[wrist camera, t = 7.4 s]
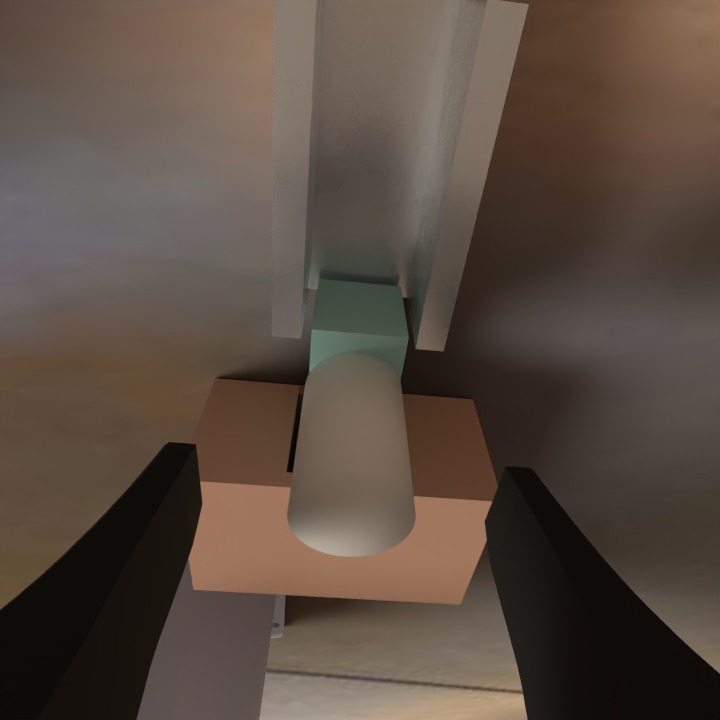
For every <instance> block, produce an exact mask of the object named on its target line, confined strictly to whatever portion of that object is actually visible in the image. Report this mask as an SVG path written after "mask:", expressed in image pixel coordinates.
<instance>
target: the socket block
mask: <svg viewBox="0 0 720 720" xmlns="http://www.w3.org/2000/svg"><path fill="white" fill-rule="evenodd" d="M304 389H305V386H303V385H291V384H278V383H266V382H254V381H242V380H230V379H217V378H215V381H214V383H213V386H212V388H211V391H210V394H209V396H208V399H207V402H206V404H205V407H204V409H203V412H202V415H201V417H200V420H199V423H198V425H197V428H196V431H195V433H194V436H193V438H192V441H191V444H196V448H197V457H198V466H199V475H200V484H201V494H202V503H203V504H202V508H201V513H200V517H199V522H198V526H197V530H196V534H195V538H194V542H193V546H192V549H191V552H190V555H189V564H190V570H191V577H192V584H193V590H205V591H223V592H241V593H259V594H277V595H296V596H314V597H332V598H350V599H368V600H386V601H404V602H422V603H440V604H458V605H460V604H461V602H462V599H463V597H464V594H465V592H466V589H467V587H468V585H469V582H470V580H471V577H472V575H473V573H474V570H475V568H476V565H477V563H478V561H479V558H480V556H481V553H482V551H483V548H484V546H485V544H486V541H487V537H486V529H485V522H484V521H485V519H486V516H487V514H488V511H489V509H490V506H491V504H492V501H493V498H494V496H495V493H496V491H497V488H498V484H497V481H496V478H495V474H494V471H493V467H492V464H491V460H490V457H489V453H488V450H487V446H486V443H485V439H484V436H483V433H482V429H481V426H480V422H479V419H478V415H477V412H476V408H475V405H474V401H473V399H462V398H449V397H437V396H425V395H413V394H402V396H403V405H404V414H405V423H406V432H407V441H408V450H409V459H410V468H411V477H412V485H413V494H414V503H415V512H416V519H415V524H414V527H413V529H412V531H411V532H410V534H409V535H408V536H407V537H406V538H405V539H404V540H403V541H402V542H401V543H399V544H398V545H396V546H394V547H392V548H391V549H388V550H386V551H384V552H380V553H377V554H373V555H368V556H359V557H344V556H336V555H330V554H327V553H323V552H320V551H317V550H315V549H313V548H311V547H309V546H307V545H306V544H304V543H303V542H302V541H300V540H299V539H298V538H297V537H296V536H295V535H294V533H293V532H292V531H291V529H290V527H289V524H288V520H287V512H288V504H289V497H290V490H291V483H292V476H293V468H294V461H295V454H296V447H297V440H298V432H299V425H300V418H301V411H302V404H303V396H304Z"/></svg>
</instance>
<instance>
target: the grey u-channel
mask: <svg viewBox="0 0 720 720" xmlns="http://www.w3.org/2000/svg"><path fill="white" fill-rule="evenodd" d="M528 6H529V4H524V3H517V2H509V1H502V0H274V29H273V178H272V327H271V336H274V337H285V338H297V339H301V334H302V328H303V322H304V316H305V311H306V305H307V299H308V293H309V288H310V289H318V282H319V279H327V280H338V281H348V282H359V283H369V284H380V285H390V286H400V287H401V290H402V296H403V297H405V298H407V301H408V307H409V313H410V319H411V325H412V331H413V337H414V343H415V349H422V350H433V351H444V348H445V344H446V340H447V336H448V331H449V327H450V323H451V319H452V315H453V311H454V307H455V303H456V299H457V295H458V291H459V287H460V283H461V279H462V275H463V270H464V266H465V262H466V258H467V254H468V250H469V246H470V242H471V238H472V234H473V230H474V226H475V222H476V218H477V213H478V209H479V205H480V201H481V197H482V193H483V189H484V185H485V181H486V177H487V173H488V169H489V165H490V161H491V156H492V152H493V148H494V144H495V140H496V136H497V132H498V128H499V124H500V120H501V116H502V112H503V108H504V104H505V99H506V95H507V91H508V87H509V83H510V79H511V75H512V71H513V67H514V63H515V59H516V55H517V51H518V47H519V43H520V38H521V34H522V30H523V26H524V22H525V18H526V14H527V10H528Z"/></svg>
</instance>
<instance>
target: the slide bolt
mask: <svg viewBox="0 0 720 720" xmlns="http://www.w3.org/2000/svg"><path fill="white" fill-rule="evenodd" d="M408 339H409V336H408V330H407V323H406V316H405V310H404V303H403V296H402V290H401V287H400V286H390V285H380V284H369V283H359V282H348V281H338V280H327V279H319V282H318V289H317V296H316V303H315V310H314V317H313V324H312V333H311V350H310V366H309V375H308V377H307V379H306V383H305V389H304V396H303V404H302V411H301V418H300V425H299V432H298V440H297V447H296V454H295V461H294V468H293V476H292V483H291V490H290V497H289V504H288V512H287V520H288V524H289V527H290V529H291V531H292V532H293V533H294V535H295V536H296V537H297V538H298V539H299V540H300V541H302V542H303V543H304V544H306V545H307V546H309V547H311V548H313V549H315V550H317V551H320V552H323V553H327V554H330V555H336V556H344V557H359V556H368V555H373V554H377V553H380V552H384V551H386V550H388V549H391V548H392V547H394V546H396V545H398V544H399V543H401V542H402V541H403V540H404V539H405V538H406V537H407V536H408V535H409V534H410V532H411V531H412V529H413V527H414V524H415V519H416V512H415V503H414V494H413V485H412V477H411V468H410V459H409V450H408V441H407V432H406V423H405V414H404V405H403V396H402V388H401V382H400V381H401V375H402V370H403V365H404V360H405V355H406V350H407V345H408Z"/></svg>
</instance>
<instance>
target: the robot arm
mask: <svg viewBox="0 0 720 720" xmlns="http://www.w3.org/2000/svg"><path fill="white" fill-rule="evenodd" d="M202 504H203V503H202V494H201V484H200V475H199V466H198V457H197V448H196V444H187V443H173V442H168V443H167V444H166V445H164V447H163V448H162V449H161V450H160V451H159V453H158V454H157V455H156V456H155V458H154V459H153V460H152V461H151V462H150V464H149V465H148V466H147V467H146V468H145V469H144V471H143V472H142V473H141V474H140V475H139V476H138V478H137V479H136V480H135V481H134V482H133V483H132V484H131V486H130V487H129V488H128V489H127V490H126V491H125V492H124V493H123V495H122V496H121V497H120V498H119V499H118V500H117V501H116V502H115V503H114V504H113V505H112V506H111V507H110V509H109V510H108V511H107V512H106V513H105V514H104V515H103V516H102V517H101V518H100V519H99V520H98V521H97V522H96V523H95V524H94V525H93V526H92V527H91V528H90V529H89V530H88V531H87V532H86V533H85V534H84V535H83V536H82V537H81V538H80V539H79V540H78V541H77V542H76V543H75V544H74V545H73V546H72V547H71V548H70V549H69V550H68V551H67V552H66V553H65V554H64V555H63V556H62V557H61V558H60V559H59V560H57V561H56V562H55V563H54V564H53V565H52V566H51V567H50V568H49V569H48V570H46V571H45V572H44V573H43V574H42V575H41V576H40V577H39V578H38V579H36V580H35V581H34V582H33V583H32V584H31V585H29V586H28V587H27V588H26V589H25V590H24V591H22V592H21V593H20V594H19V595H18V596H17V597H15V598H14V599H13V600H12V601H10V602H9V603H8V604H7V605H5V606H4V607H3V608H2V609H1V610H0V720H259V716H260V709H261V702H262V695H263V687H264V680H265V673H266V666H267V659H268V651H269V644H270V638H278V637H281V636H282V635H283V634H284V620H285V595H277V594H259V593H241V592H223V591H205V590H193V584H192V577H191V570H190V564H189V555H190V552H191V549H192V546H193V542H194V538H195V534H196V530H197V526H198V522H199V517H200V513H201V508H202ZM484 522H485V529H486V537H487V545H488V551H489V558H490V564H491V568H492V572H493V576H494V580H495V584H496V587H497V591H498V595H499V599H500V602H501V606H502V610H503V613H504V617H505V621H506V625H507V628H508V632H509V636H510V639H511V643H512V647H513V650H514V654H515V658H516V662H517V666H518V671H519V675H520V679H521V684H522V690H523V695H524V701H525V707H526V713H527V718H528V720H720V674H719V673H718V672H717V671H716V670H715V669H714V668H713V667H711V666H710V665H709V664H708V663H707V662H706V661H705V660H703V659H702V658H701V657H700V656H699V655H698V654H697V653H695V652H694V651H693V650H692V649H691V648H690V647H689V646H688V645H687V644H686V643H685V642H684V641H682V640H681V639H680V638H679V637H678V636H677V635H676V634H675V633H674V632H673V631H672V630H671V629H670V628H669V627H668V626H667V625H666V624H665V623H664V622H663V621H662V620H661V619H660V618H659V617H658V616H657V615H656V614H655V613H654V612H653V611H652V610H651V609H650V608H649V607H648V606H647V605H646V604H645V603H644V602H643V601H642V600H641V599H640V598H639V597H638V596H637V595H636V594H635V593H634V592H633V591H632V590H631V589H630V588H629V586H628V585H627V584H626V583H625V582H624V581H623V580H622V579H621V578H620V577H619V575H618V574H617V573H616V572H615V571H614V570H613V569H612V568H611V567H610V565H609V564H608V563H607V562H606V561H605V560H604V559H603V557H602V556H601V555H600V554H599V553H598V552H597V550H596V549H595V548H594V547H593V545H592V544H591V543H590V542H589V541H588V539H587V538H586V537H585V536H584V535H583V533H582V532H581V531H580V530H579V529H578V527H577V526H576V525H575V524H574V522H573V521H572V520H571V519H570V517H569V516H568V515H567V513H566V512H565V511H564V510H563V508H562V507H561V506H560V504H559V503H558V502H557V501H556V499H555V498H554V497H553V495H552V494H551V493H550V492H549V490H548V489H547V488H546V486H545V485H544V484H543V483H542V481H541V480H540V479H539V477H538V476H537V475H536V474H535V472H534V471H533V470H532V469H531V468H522V467H508V466H506V468H505V470H504V473H503V475H502V478H501V480H500V483H499V486H498V488H497V491H496V493H495V496H494V498H493V501H492V504H491V506H490V509H489V511H488V514H487V516H486V519H485V521H484Z"/></svg>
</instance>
